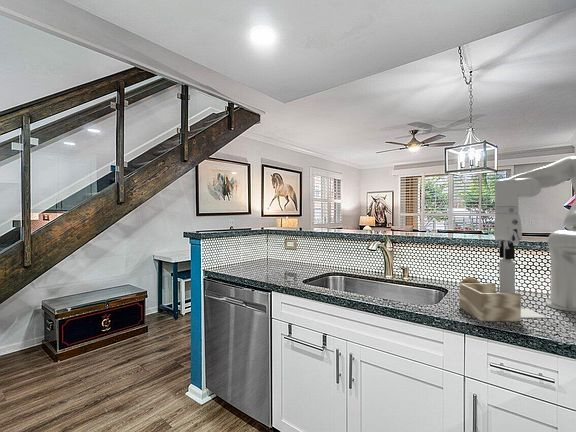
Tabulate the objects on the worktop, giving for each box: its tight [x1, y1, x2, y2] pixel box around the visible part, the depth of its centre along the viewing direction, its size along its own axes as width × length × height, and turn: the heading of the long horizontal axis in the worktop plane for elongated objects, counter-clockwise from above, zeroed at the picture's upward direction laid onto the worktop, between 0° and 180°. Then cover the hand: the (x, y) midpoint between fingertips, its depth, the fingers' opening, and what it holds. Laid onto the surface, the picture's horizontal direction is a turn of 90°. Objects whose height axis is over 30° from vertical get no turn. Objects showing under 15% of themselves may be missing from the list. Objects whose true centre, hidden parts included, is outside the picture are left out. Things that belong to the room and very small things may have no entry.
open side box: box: [459, 282, 522, 322], centre depth 123 cm, size 14×16×10 cm
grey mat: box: [521, 308, 548, 319], centre depth 122 cm, size 10×10×1 cm
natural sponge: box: [460, 277, 481, 283], centre depth 142 cm, size 9×9×10 cm
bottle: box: [498, 241, 516, 293], centre depth 122 cm, size 5×5×25 cm
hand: (506, 258), depth 122 cm, fingers closed on bottle, 2 cm apart
